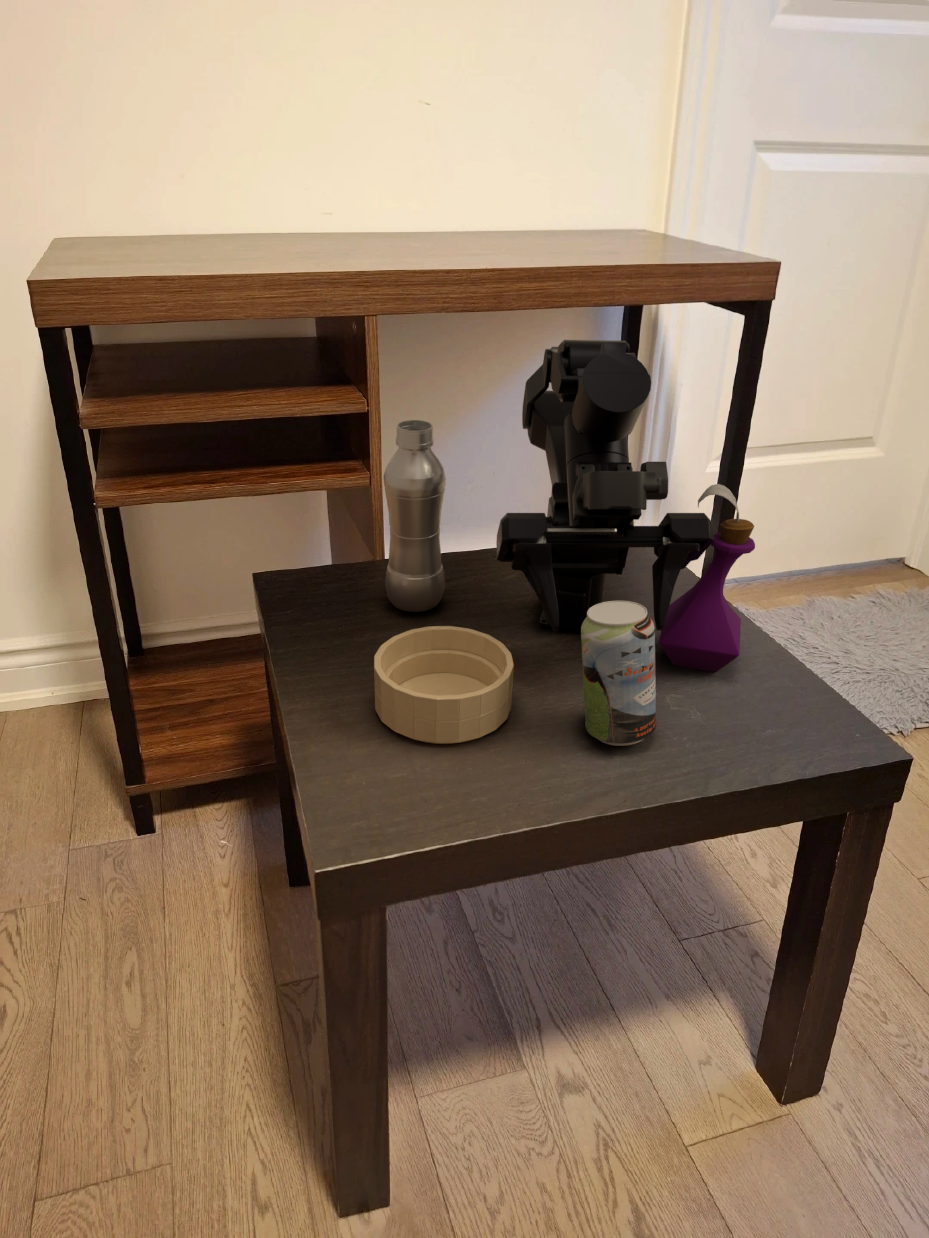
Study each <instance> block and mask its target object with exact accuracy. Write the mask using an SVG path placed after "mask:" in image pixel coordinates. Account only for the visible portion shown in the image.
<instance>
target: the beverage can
mask: <svg viewBox="0 0 929 1238" xmlns="http://www.w3.org/2000/svg"><path fill="white" fill-rule="evenodd" d="M655 629H656V626H655V622H654V620H652V618H651V617H650V616H649V614H648V609H647V607H645V606H644V605H642V604H641V603H639V602H635V601H630V600H609V601H608V600H607V601H602V603H599V604H596V605H594V606H592V607H591V608H590V609H589V610H588V611H587V617H586V618H585V620H584V621H583V624H582V626H581V632H580V641H581V660H582V661H581V662H582V680H583V699H584V700H583V701H584V719H585V720H584V722H585V730H586V731H587V733H588V734H589V735H590V736H592V737H593V738H595V739H596V740H598V741H600V742H601V743H603V744H606V745H610V746H616V747H617V746H618V747H620V746H621V747H626V746H632V745H636V744H638V743H640V742H642V741H644V740H645V739H647V738H648V737H650V736H651V735H653V733H654V732H655V730H656V728H657V692H656V691H657V689H656V687H657V686H656V684H657V683H656V638H655V637H656V633H655V632H656V630H655Z"/></svg>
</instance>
